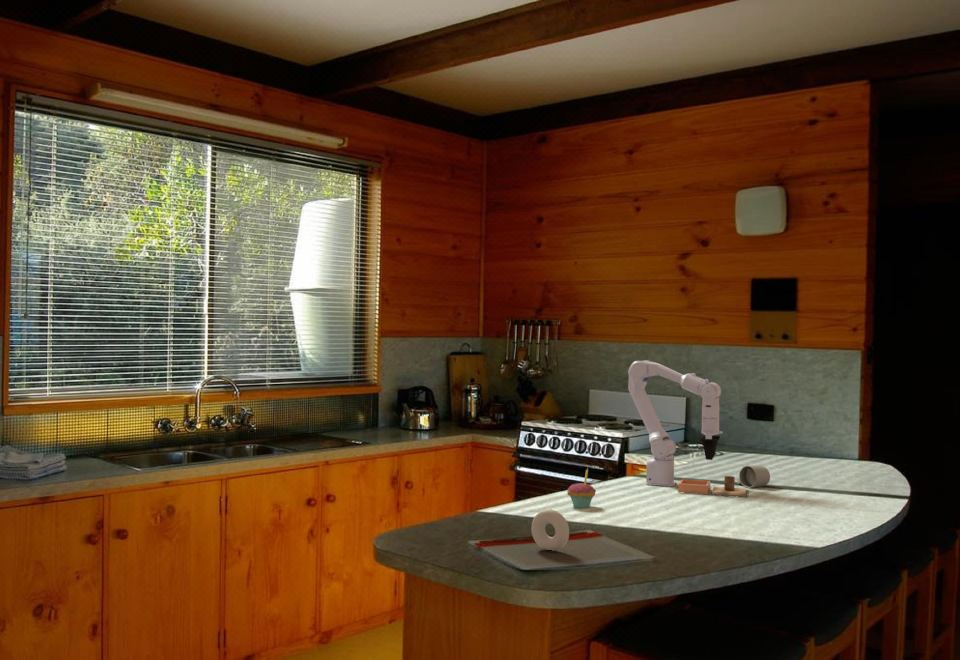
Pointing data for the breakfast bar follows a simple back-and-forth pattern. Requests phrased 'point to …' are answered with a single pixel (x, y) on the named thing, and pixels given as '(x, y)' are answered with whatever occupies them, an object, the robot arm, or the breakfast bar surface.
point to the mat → (733, 495)
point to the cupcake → (581, 493)
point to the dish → (694, 486)
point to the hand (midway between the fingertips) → (710, 458)
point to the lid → (729, 488)
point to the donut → (559, 525)
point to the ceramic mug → (753, 476)
